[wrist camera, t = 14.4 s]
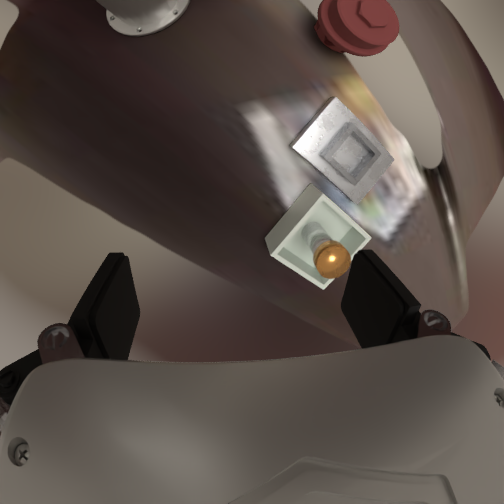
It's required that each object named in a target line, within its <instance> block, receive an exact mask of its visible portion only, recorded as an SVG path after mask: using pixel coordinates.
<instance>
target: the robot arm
mask: <svg viewBox="0 0 504 504" xmlns="http://www.w3.org/2000/svg"><path fill="white" fill-rule="evenodd" d="M96 1H97V2H98V3H99V4H101V5H102V6H103V7H104V8H106V16H107V20H108V22H109V24H110V26H111V27H112V28H113V29H115V30H116V31H117V32H119V33H121V34H124V35H128V36H145V35H149V34H153V33H156V32H158V31H161V30H163V29H165V28H167V27H168V26H170V25H171V24H173V23H174V22H175V21H177V20H178V19H179V18H180V17H181V16H182V14H183V13H184V12H185V10H186V9H187V7H188V5H189V3H190V0H96ZM176 13H178V14H177V15H175V14H176ZM113 19H114V20H113ZM140 30H142V31H141V32H139V31H140ZM420 307H421V304H420V303H419V302H418V301H417V299H416V298H415V297H414V296H413V295H412V293H411V292H410V291H409V290H408V289H407V288H406V287H405V285H404V284H403V283H402V282H401V281H400V280H399V279H398V277H397V276H396V275H395V274H394V273H393V272H392V271H391V270H390V269H389V268H388V266H387V265H386V264H385V263H384V262H383V261H382V260H381V259H380V258H379V257H378V256H377V255H376V254H375V252H374V251H373V250H359V251H358V252H357V253H355V254H354V256H353V260H352V264H351V268H350V272H349V276H348V280H347V284H346V288H345V291H344V295H343V298H342V302H341V309H342V312H343V314H344V315H345V317H346V319H347V321H348V323H349V325H350V327H351V328H352V330H353V332H354V334H355V336H356V338H357V340H358V342H359V344H360V346H361V347H362V349H357V350H352V351H345V352H338V353H331V354H322V355H314V356H306V357H296V358H287V359H286V358H285V359H273V360H259V361H240V362H206V363H204V362H200V363H189V362H188V363H186V362H183V363H182V362H151V361H134V360H133V361H132V360H128V357H129V353H130V349H131V345H132V342H133V338H134V335H135V331H136V328H137V324H138V321H139V317H140V308H139V304H138V300H137V295H136V291H135V287H134V282H133V277H132V273H131V268H130V262H129V258H128V256H124V253H109V254H108V255H107V257H106V259H105V260H104V262H103V263H102V265H101V266H100V268H99V269H98V271H97V273H96V274H95V276H94V277H93V279H92V281H91V282H90V284H89V286H88V287H87V289H86V291H85V292H84V294H83V296H82V297H81V299H80V301H79V303H78V304H77V306H76V308H75V310H74V312H73V313H72V315H71V317H70V320H69V322H68V324H63V323H57V324H53V325H50V326H48V327H47V328H45V329H44V330H43V331H42V332H41V334H40V335H39V337H38V341H37V342H38V350H36V351H34V352H32V353H30V354H28V355H26V356H25V357H23V358H21V359H19V360H17V361H15V362H14V363H12V364H10V365H8V366H6V367H5V368H3V369H2V370H1V371H0V504H504V367H502V366H501V365H500V364H498V363H497V362H496V361H494V360H493V361H492V362H491V361H490V360H491V359H490V355H489V353H488V351H487V349H486V348H485V347H484V346H483V345H481V344H478V343H476V342H474V341H471V340H469V339H467V338H464V337H462V336H460V335H457V334H455V333H452V332H451V323H450V321H449V320H448V318H447V317H446V316H445V315H443V314H442V313H440V312H438V311H436V310H424V311H423V312H422V313H420V312H419V309H420Z"/></svg>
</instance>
